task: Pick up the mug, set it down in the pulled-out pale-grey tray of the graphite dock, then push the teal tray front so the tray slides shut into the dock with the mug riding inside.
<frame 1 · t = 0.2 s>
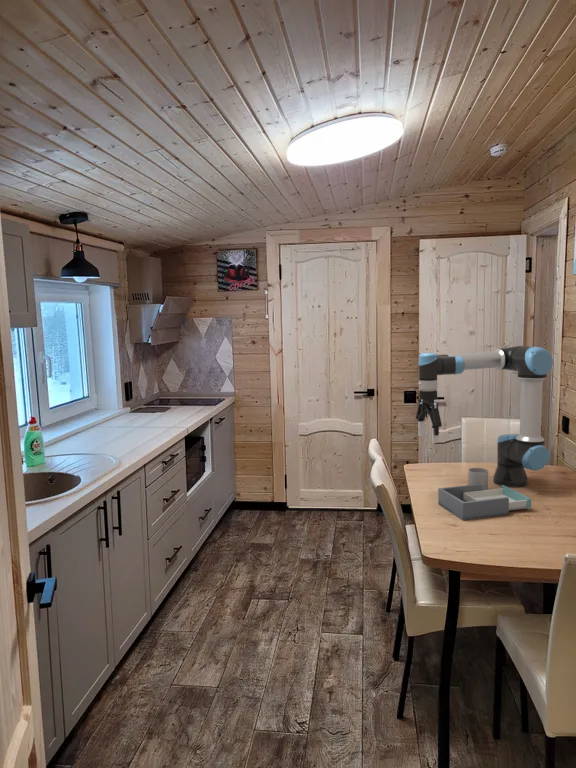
hand: (428, 439, 236), 28 cm above the table, fingers open, 13 cm apart
tray: (495, 498, 230), point 3 cm above the table, slide at 9.0 cm
dock: (472, 509, 228), on the table
mug: (478, 493, 249), on the table
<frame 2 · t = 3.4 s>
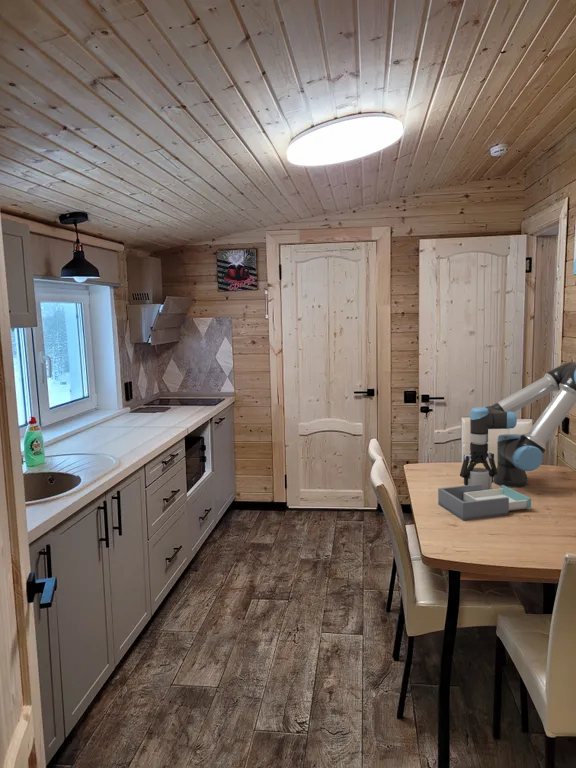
hand: (478, 491, 248), 1 cm above the table, fingers open, 10 cm apart
mug: (479, 493, 249), on the table, touching gripper
everything else where it was.
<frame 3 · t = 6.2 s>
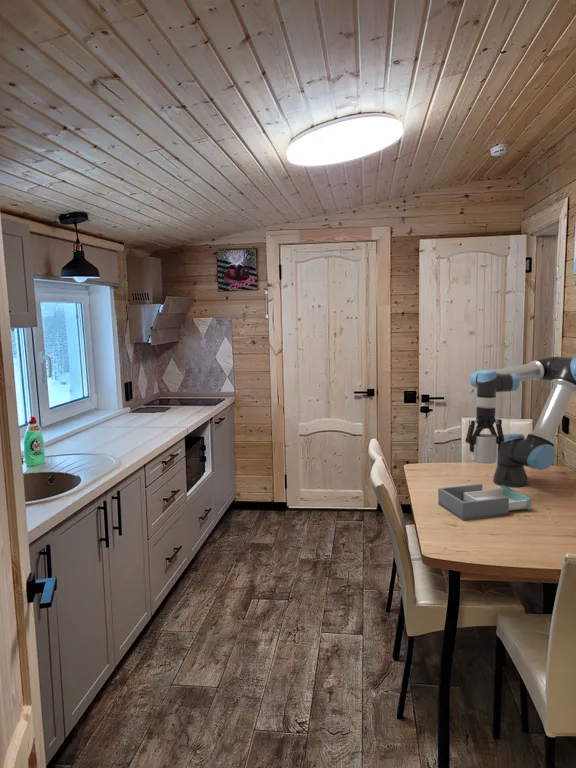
hand: (484, 458, 237), 18 cm above the table, fingers closed on mug, 9 cm apart
mug: (485, 460, 237), point 17 cm above the table, touching gripper
everything else where it was.
when the fingers open (4 cm above the table, at t = 8.6 s): mug drops 2 cm, resting on tray.
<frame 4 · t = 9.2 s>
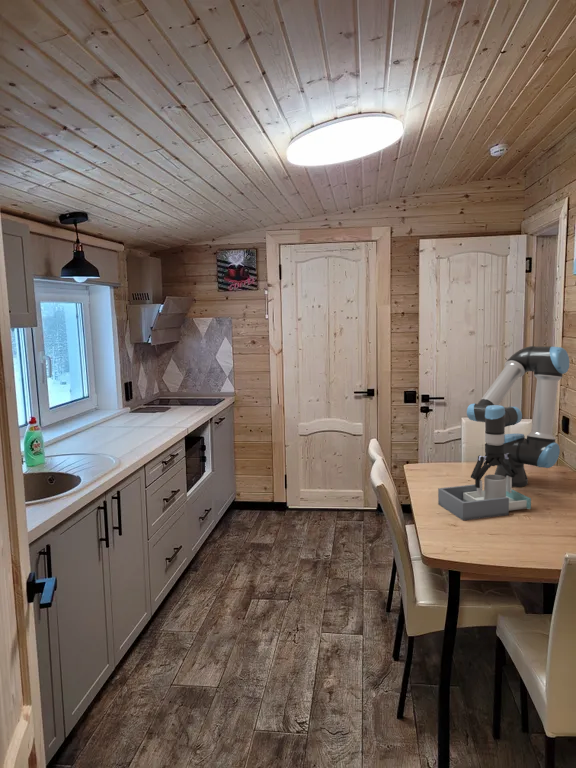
hand: (494, 493, 230), 6 cm above the table, fingers open, 13 cm apart
tray: (495, 498, 230), point 3 cm above the table, slide at 8.9 cm, touching mug
mug: (495, 502, 230), point 2 cm above the table, touching tray
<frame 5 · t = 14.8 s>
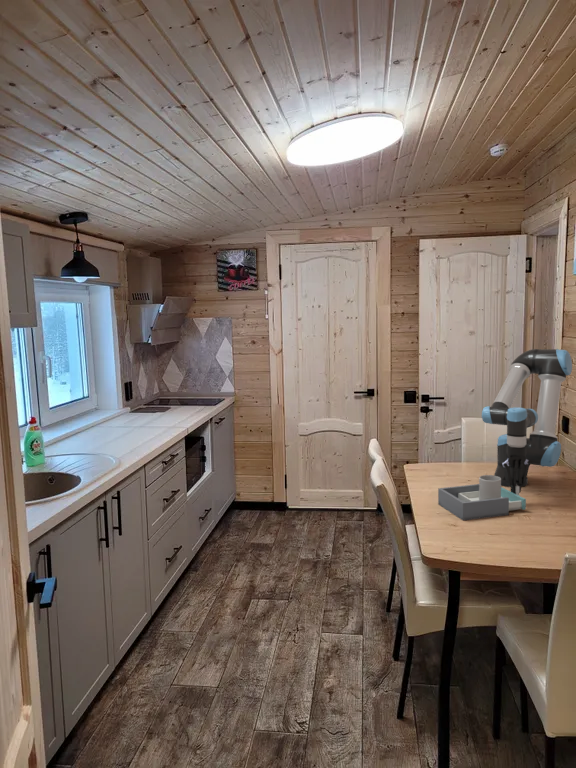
hand: (515, 500, 232), 2 cm above the table, fingers closed
tray: (490, 499, 229), point 3 cm above the table, slide at 6.6 cm, touching gripper, mug
mug: (490, 502, 230), point 2 cm above the table, touching tray
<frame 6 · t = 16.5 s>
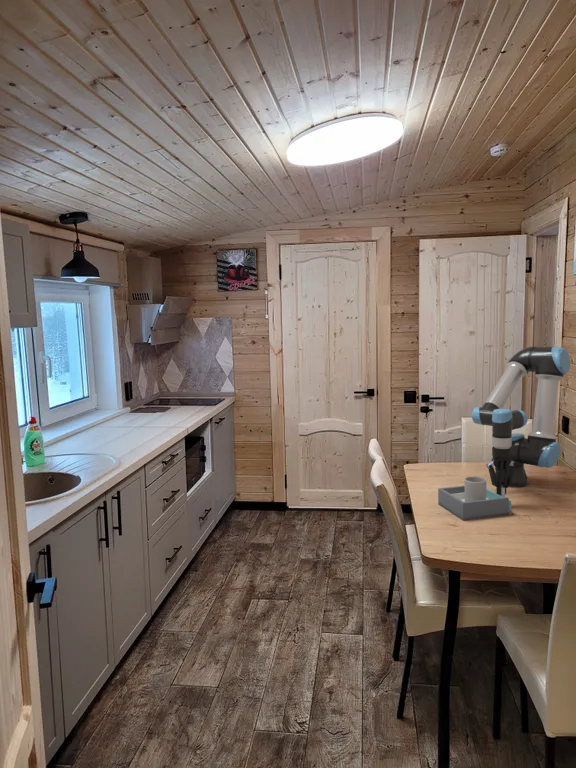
hand: (501, 502, 231), 2 cm above the table, fingers closed
tray: (475, 501, 228), point 3 cm above the table, slide at -0.1 cm, touching gripper, mug
mug: (476, 504, 228), point 2 cm above the table, touching tray
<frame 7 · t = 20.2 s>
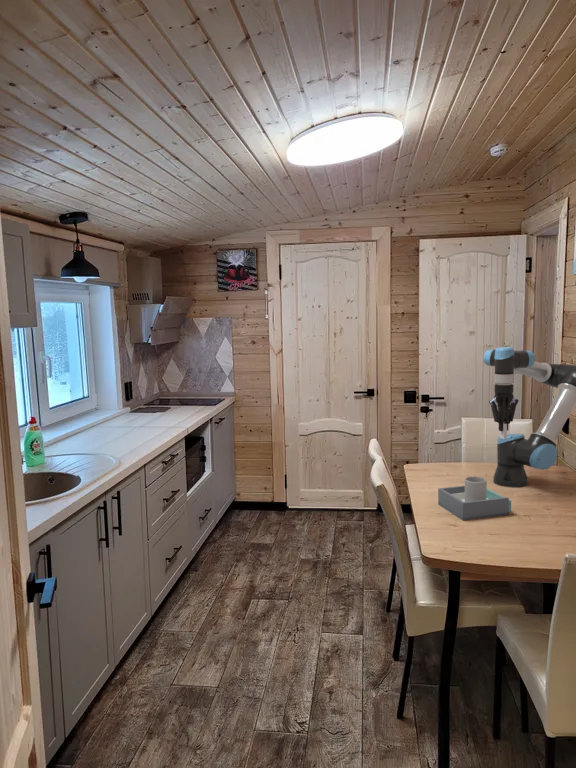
hand: (503, 438, 238), 26 cm above the table, fingers closed
tray: (475, 501, 228), point 3 cm above the table, slide at 0.0 cm, touching mug
everything else where it was.
at the end: tray slide at 0.0 cm; mug inside the target area on the dock (1.9 cm from its centre), point 1.8 cm above the dock's base; mug tilted 0° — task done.
